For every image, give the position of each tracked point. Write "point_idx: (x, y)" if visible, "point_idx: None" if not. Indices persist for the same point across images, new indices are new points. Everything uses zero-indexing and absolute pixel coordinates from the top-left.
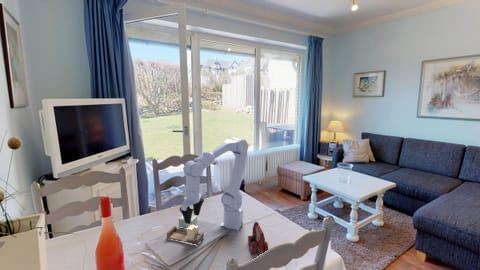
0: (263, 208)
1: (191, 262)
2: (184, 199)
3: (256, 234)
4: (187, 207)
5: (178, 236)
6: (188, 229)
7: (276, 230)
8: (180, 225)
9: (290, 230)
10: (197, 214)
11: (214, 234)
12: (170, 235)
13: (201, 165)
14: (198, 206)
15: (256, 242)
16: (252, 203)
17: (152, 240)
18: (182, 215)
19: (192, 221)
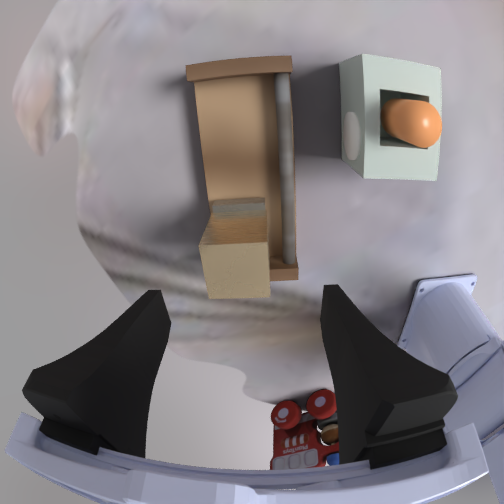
0: None
1: (131, 285)
2: (131, 485)
3: (308, 445)
4: (82, 456)
5: (229, 132)
6: (201, 256)
7: None
8: (345, 74)
9: None
10: (322, 321)
11: (350, 284)
12: (213, 79)
13: None
14: (339, 397)
15: (304, 423)
16: None
17: (150, 15)
18: (413, 64)
19: (371, 176)
